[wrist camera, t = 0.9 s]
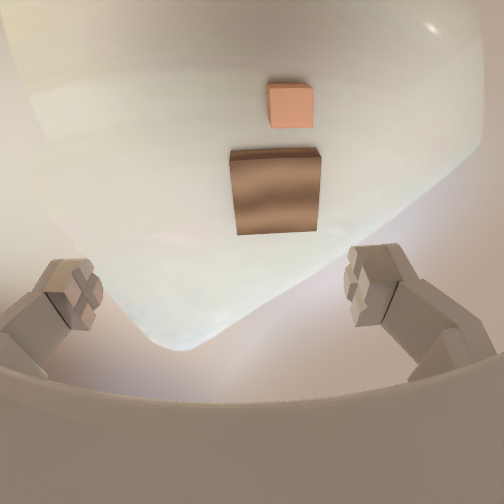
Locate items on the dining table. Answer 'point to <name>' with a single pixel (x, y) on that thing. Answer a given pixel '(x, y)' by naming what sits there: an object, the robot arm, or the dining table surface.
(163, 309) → the dining table surface
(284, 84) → the terracotta cube
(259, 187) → the walnut board
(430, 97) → the dining table surface
